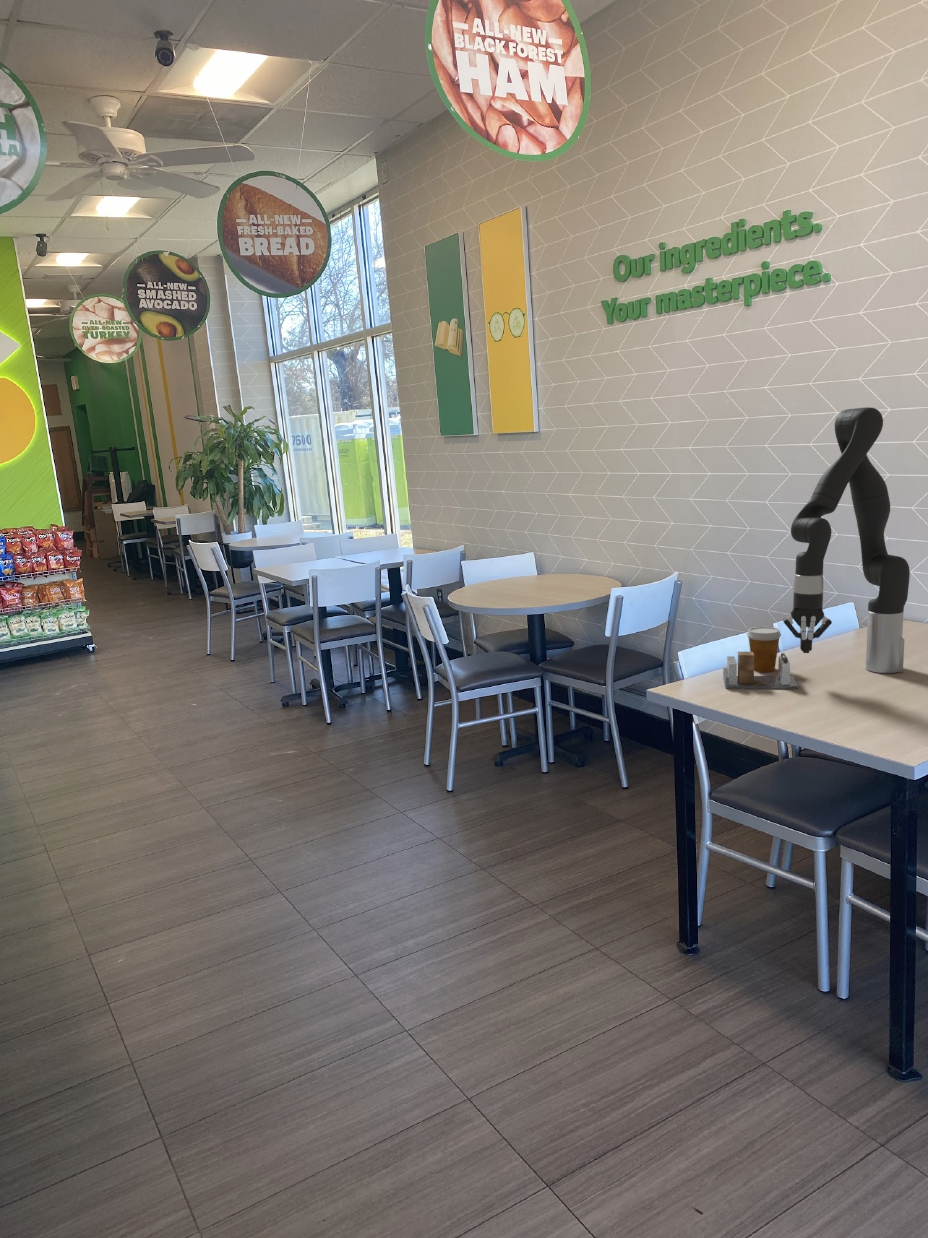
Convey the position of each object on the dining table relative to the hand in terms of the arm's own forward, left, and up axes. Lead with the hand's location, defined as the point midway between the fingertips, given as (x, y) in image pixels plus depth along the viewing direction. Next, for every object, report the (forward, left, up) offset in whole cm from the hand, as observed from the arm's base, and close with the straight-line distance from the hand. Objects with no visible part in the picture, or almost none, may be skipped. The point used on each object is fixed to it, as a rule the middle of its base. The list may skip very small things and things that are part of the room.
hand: (805, 652), depth 248 cm
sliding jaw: (+6, 0, -9) cm, 11 cm away
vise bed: (+12, 0, -9) cm, 15 cm away
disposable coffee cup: (+10, -15, -9) cm, 20 cm away
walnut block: (+16, 0, -8) cm, 18 cm away
